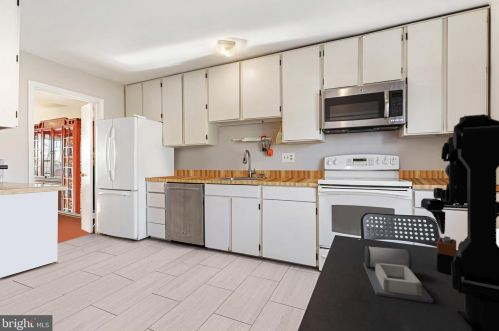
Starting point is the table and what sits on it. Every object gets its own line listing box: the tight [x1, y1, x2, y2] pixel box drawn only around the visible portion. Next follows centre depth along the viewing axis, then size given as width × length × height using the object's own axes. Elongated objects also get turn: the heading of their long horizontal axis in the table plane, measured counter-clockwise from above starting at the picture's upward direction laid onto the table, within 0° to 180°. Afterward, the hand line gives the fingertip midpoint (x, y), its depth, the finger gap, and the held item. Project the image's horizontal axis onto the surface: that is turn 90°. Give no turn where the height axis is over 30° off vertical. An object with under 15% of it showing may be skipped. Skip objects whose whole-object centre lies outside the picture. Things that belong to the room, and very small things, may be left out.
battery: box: [436, 235, 457, 276], centre depth 76 cm, size 4×7×10 cm, turn 138°
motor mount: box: [362, 245, 434, 304], centre depth 69 cm, size 20×12×7 cm, turn 164°
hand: (461, 235), depth 72 cm, fingers open, 9 cm apart
